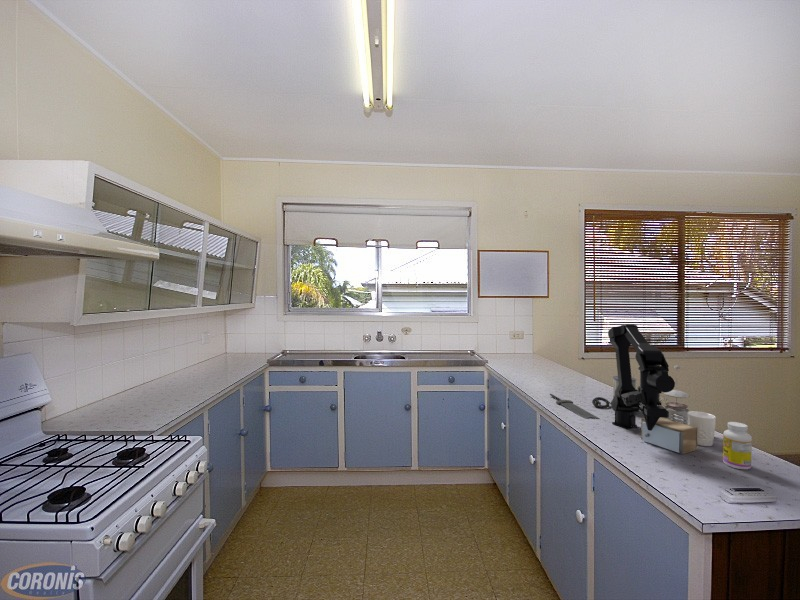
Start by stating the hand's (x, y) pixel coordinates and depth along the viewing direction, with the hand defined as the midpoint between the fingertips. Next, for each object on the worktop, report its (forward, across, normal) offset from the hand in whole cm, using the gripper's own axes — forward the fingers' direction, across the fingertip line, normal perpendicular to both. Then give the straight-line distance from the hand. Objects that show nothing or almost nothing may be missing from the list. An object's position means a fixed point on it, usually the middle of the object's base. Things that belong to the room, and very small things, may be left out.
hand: (649, 430), depth 134 cm
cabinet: (+5, -4, +7) cm, 9 cm away
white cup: (+6, -9, +18) cm, 21 cm away
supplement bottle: (+6, +9, +21) cm, 24 cm away
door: (+5, +1, +3) cm, 6 cm away
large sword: (+5, -40, -22) cm, 46 cm away
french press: (+5, -21, +14) cm, 25 cm away
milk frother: (+5, -43, -3) cm, 43 cm away
